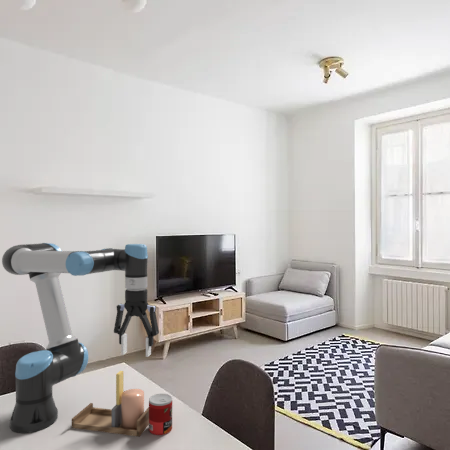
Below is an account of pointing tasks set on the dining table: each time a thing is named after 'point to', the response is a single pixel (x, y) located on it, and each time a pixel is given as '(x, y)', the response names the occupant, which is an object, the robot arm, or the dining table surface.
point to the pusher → (118, 400)
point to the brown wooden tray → (106, 421)
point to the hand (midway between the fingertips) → (136, 354)
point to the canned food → (160, 414)
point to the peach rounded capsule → (131, 408)
